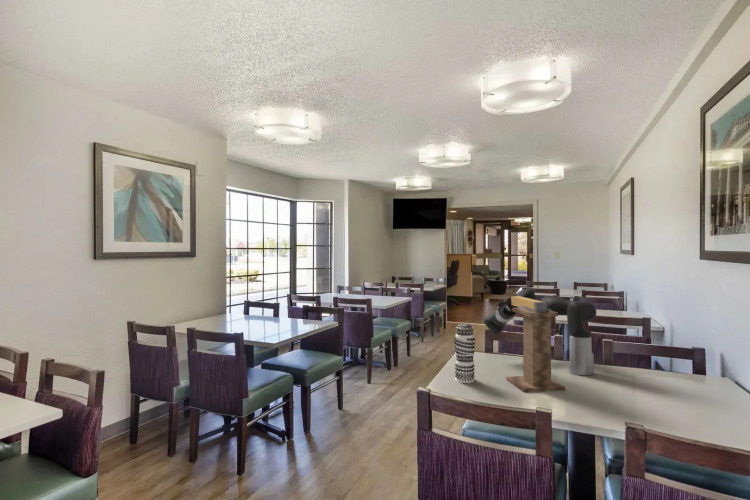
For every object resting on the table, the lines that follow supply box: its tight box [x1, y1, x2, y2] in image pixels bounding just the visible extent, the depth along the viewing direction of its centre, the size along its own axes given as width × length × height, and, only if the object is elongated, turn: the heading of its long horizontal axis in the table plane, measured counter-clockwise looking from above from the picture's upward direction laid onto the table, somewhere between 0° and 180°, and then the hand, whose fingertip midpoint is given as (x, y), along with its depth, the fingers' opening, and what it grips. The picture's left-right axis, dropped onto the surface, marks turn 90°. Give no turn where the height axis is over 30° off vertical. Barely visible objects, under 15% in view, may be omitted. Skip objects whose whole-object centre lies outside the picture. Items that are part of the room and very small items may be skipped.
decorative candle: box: [453, 322, 476, 384], centre depth 183 cm, size 9×9×25 cm
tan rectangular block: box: [510, 295, 547, 312], centre depth 181 cm, size 5×23×4 cm, turn 8°
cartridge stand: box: [505, 305, 566, 393], centre depth 176 cm, size 18×16×33 cm
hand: (519, 299), depth 189 cm, fingers open, 8 cm apart
